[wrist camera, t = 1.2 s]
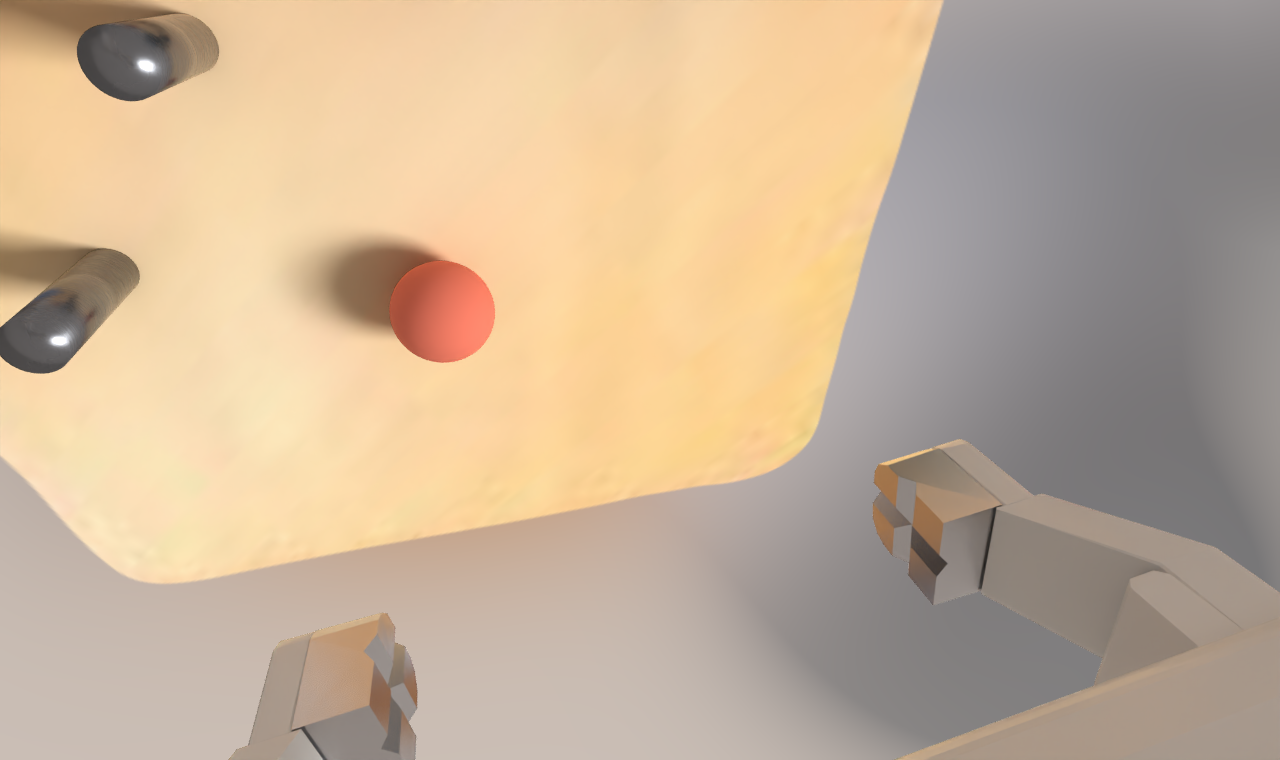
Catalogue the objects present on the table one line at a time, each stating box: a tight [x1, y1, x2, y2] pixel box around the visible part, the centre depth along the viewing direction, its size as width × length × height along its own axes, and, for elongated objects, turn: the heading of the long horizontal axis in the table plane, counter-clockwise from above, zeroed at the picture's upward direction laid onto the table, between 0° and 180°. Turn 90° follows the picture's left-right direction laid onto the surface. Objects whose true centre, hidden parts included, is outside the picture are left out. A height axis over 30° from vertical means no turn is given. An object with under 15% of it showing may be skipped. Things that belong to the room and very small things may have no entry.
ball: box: [389, 261, 495, 363], centre depth 40 cm, size 6×6×6 cm
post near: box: [77, 13, 219, 101], centre depth 29 cm, size 3×3×9 cm
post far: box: [0, 249, 140, 373], centre depth 33 cm, size 3×3×9 cm
